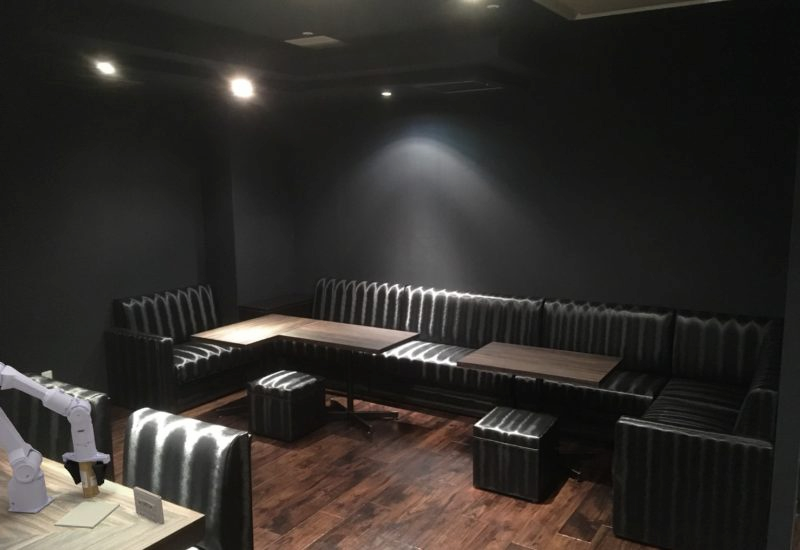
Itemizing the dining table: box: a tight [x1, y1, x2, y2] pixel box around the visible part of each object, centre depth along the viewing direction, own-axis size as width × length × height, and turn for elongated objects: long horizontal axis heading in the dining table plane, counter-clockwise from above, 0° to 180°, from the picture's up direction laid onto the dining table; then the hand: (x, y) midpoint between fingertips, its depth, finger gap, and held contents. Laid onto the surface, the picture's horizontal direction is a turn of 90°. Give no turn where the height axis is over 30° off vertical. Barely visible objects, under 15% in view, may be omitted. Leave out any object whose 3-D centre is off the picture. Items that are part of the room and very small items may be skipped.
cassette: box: [132, 486, 165, 525], centre depth 181 cm, size 12×2×8 cm, turn 55°
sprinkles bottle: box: [79, 461, 100, 499], centre depth 196 cm, size 5×5×13 cm
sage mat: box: [54, 501, 121, 530], centre depth 185 cm, size 12×12×1 cm
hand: (89, 483), depth 196 cm, fingers open, 7 cm apart
